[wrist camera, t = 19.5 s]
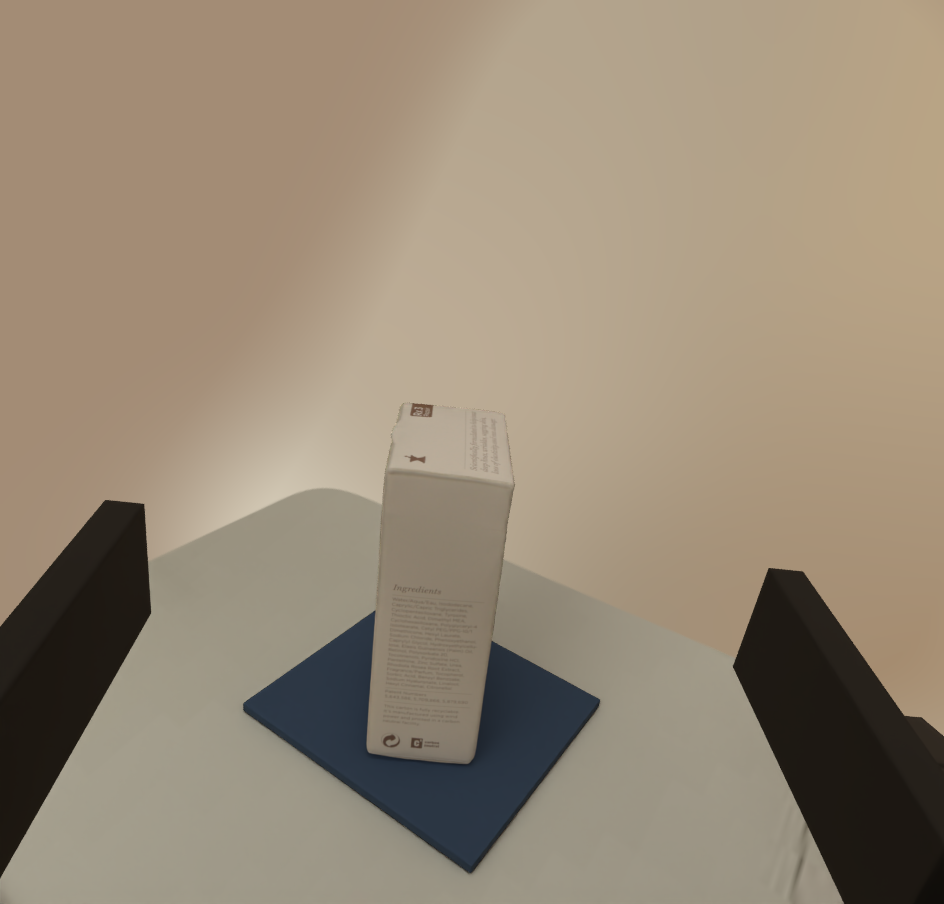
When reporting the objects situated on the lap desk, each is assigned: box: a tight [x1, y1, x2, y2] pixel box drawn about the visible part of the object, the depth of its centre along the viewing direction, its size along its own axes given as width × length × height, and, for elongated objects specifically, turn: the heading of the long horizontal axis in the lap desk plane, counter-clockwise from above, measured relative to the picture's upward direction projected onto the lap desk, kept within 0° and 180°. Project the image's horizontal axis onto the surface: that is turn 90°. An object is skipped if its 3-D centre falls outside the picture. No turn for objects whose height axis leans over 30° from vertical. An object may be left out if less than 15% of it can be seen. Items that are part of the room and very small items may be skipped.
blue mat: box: [243, 610, 600, 873], centre depth 32 cm, size 11×10×1 cm
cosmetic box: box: [367, 403, 515, 764], centre depth 29 cm, size 6×4×12 cm
